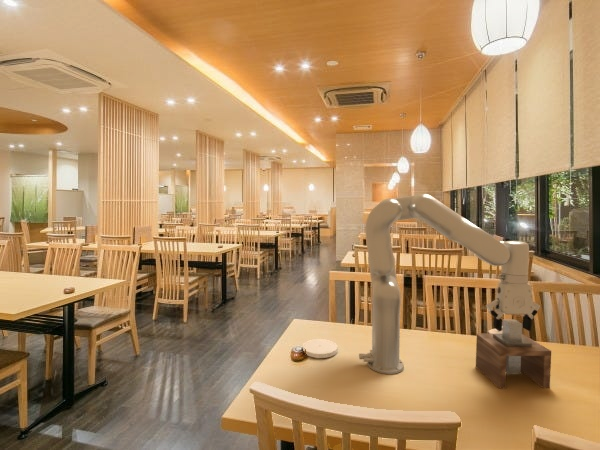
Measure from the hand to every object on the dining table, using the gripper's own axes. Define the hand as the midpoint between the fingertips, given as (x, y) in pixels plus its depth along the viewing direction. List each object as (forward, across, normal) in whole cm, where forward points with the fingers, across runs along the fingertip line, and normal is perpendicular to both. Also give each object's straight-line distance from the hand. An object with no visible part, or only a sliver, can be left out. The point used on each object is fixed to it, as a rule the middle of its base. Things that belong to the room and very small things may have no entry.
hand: (512, 329), depth 112 cm
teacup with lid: (+16, +6, +16) cm, 24 cm away
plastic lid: (+17, -63, +20) cm, 68 cm away
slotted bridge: (+16, 0, 0) cm, 16 cm away
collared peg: (+14, 0, 0) cm, 14 cm away
